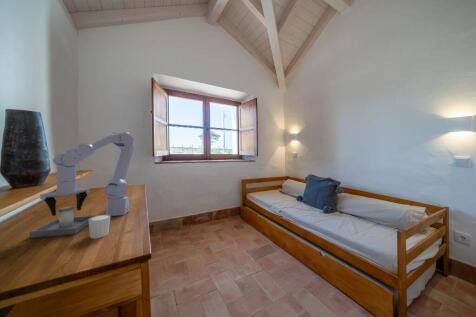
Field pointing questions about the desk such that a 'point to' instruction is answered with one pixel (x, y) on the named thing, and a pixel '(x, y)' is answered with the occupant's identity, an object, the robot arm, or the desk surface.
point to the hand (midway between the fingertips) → (66, 212)
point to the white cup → (99, 226)
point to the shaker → (66, 217)
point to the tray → (53, 229)
